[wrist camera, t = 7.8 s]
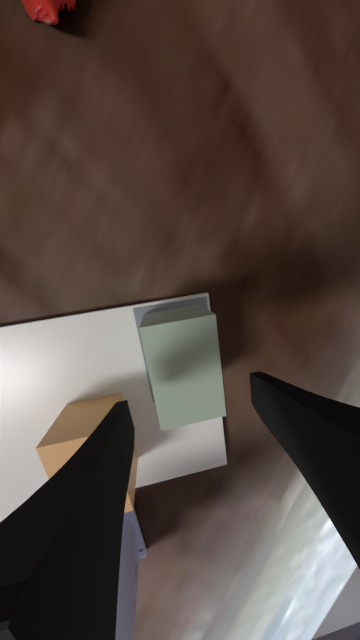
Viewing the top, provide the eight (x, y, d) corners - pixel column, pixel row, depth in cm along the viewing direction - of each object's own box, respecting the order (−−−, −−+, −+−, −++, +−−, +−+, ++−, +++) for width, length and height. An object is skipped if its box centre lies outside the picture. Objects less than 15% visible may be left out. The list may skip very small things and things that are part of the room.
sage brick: (209, 382, 18) (226, 415, 14) (159, 393, 18) (161, 431, 13) (199, 304, 16) (215, 314, 12) (143, 313, 16) (139, 327, 11)
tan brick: (138, 457, 19) (133, 510, 15) (89, 469, 19) (69, 527, 14) (121, 392, 17) (109, 431, 13) (66, 404, 17) (35, 448, 12)
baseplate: (225, 459, 22) (227, 465, 21) (0, 517, 19) (-5, 525, 19) (206, 292, 17) (208, 293, 16) (-98, 342, 14) (-110, 345, 14)
